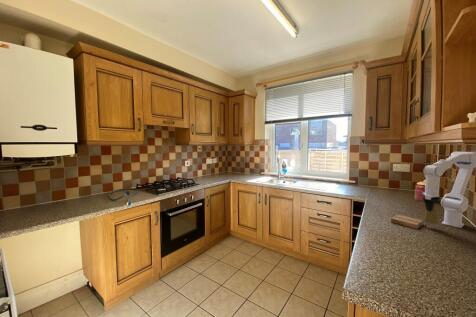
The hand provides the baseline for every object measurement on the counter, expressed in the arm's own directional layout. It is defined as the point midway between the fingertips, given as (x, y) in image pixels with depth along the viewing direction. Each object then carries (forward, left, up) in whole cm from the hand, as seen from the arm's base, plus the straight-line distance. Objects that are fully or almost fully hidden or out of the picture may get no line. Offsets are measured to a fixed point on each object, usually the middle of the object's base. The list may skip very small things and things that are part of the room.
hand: (430, 209), depth 114 cm
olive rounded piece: (0, 0, -7) cm, 7 cm away
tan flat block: (+3, -10, -10) cm, 14 cm away
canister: (-71, -19, -11) cm, 74 cm away
